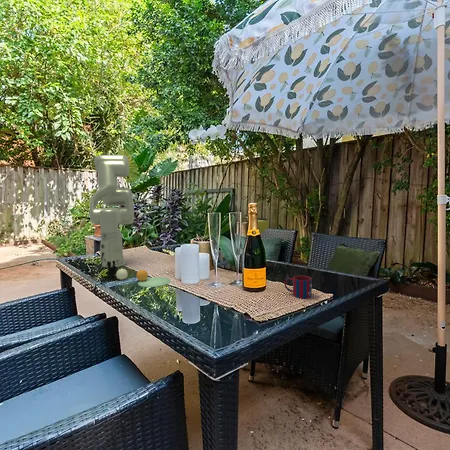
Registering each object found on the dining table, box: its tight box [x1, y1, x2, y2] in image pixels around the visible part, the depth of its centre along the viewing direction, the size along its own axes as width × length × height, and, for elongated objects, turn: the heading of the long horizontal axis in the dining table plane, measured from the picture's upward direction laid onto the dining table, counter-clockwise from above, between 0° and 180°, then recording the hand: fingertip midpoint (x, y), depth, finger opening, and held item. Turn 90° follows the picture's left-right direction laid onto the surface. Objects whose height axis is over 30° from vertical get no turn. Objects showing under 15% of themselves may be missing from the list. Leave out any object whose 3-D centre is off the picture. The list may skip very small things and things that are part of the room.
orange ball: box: [136, 269, 149, 282], centre depth 138 cm, size 5×5×5 cm
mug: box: [283, 275, 313, 300], centre depth 115 cm, size 7×10×7 cm
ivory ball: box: [115, 268, 129, 281], centre depth 141 cm, size 5×5×5 cm
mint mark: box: [137, 276, 171, 288], centre depth 136 cm, size 14×14×1 cm
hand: (112, 274), depth 144 cm, fingers closed
